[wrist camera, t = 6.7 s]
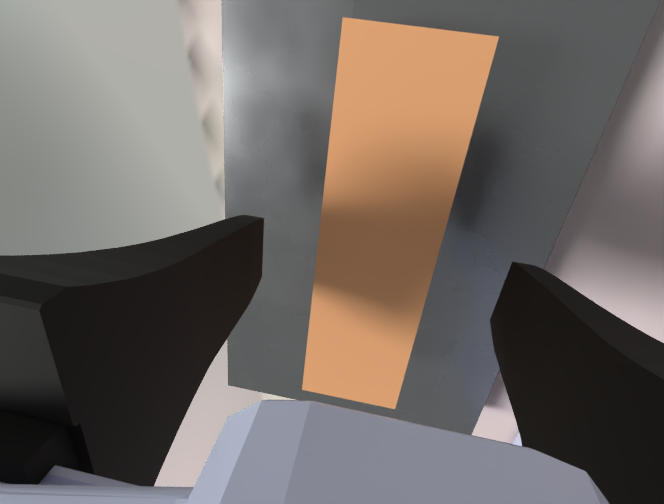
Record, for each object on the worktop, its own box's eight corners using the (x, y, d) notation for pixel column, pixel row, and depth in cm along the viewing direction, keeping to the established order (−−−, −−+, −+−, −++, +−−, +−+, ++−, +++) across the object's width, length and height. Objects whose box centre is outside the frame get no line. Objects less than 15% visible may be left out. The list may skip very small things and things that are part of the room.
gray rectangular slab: (464, 403, 20) (470, 436, 18) (242, 357, 21) (228, 385, 19) (663, -97, 11) (715, -127, 9) (246, -135, 12) (218, -168, 10)
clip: (396, 325, 19) (395, 409, 14) (325, 311, 19) (302, 389, 14) (466, 42, 13) (499, 36, 8) (362, 29, 13) (342, 17, 9)
